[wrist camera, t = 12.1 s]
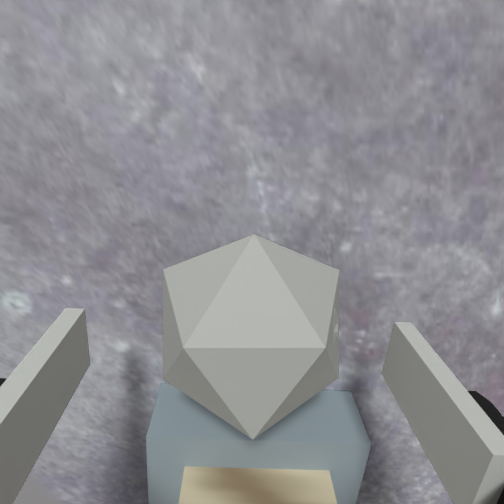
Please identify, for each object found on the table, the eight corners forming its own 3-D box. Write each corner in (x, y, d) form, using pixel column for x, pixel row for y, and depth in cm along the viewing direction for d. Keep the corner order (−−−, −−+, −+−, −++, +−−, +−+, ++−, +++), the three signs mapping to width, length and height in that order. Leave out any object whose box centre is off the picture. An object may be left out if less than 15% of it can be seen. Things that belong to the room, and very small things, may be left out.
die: (266, 367, 24) (398, 429, 16) (129, 396, 19) (218, 507, 11) (266, 239, 24) (400, 236, 16) (129, 236, 19) (219, 229, 11)
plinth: (351, 391, 24) (371, 444, 20) (323, 517, 28) (335, 580, 24) (161, 383, 23) (146, 436, 19) (163, 513, 27) (151, 577, 24)
